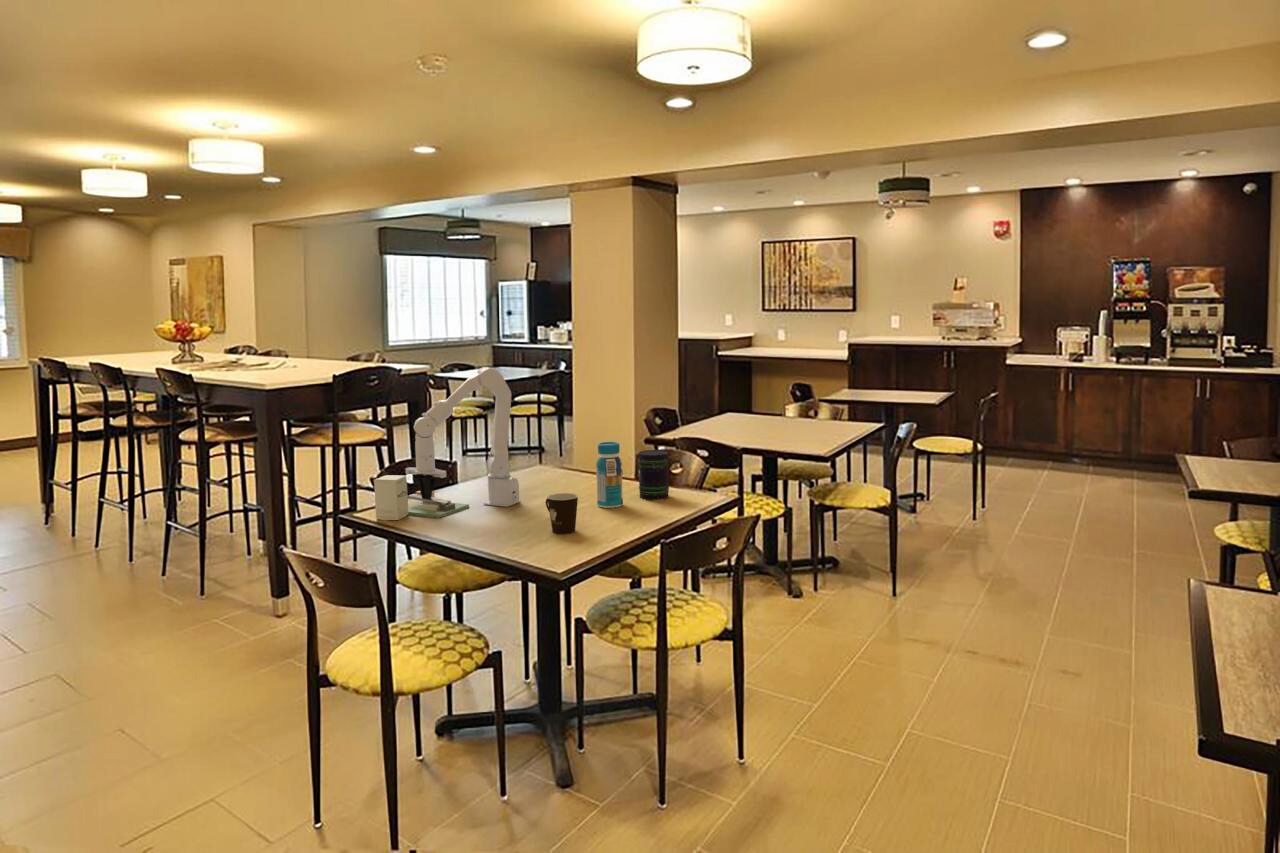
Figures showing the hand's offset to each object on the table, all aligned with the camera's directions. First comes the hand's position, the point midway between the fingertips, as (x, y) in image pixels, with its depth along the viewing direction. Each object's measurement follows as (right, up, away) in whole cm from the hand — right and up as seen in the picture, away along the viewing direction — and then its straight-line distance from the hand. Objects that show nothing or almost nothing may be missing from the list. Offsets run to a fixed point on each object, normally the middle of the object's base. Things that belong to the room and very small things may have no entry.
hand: (426, 498), depth 268 cm
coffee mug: (+45, -7, -26) cm, 53 cm away
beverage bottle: (+58, -3, +2) cm, 58 cm away
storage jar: (+72, -1, +13) cm, 73 cm away
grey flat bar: (+1, -1, 0) cm, 1 cm away
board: (+1, -4, 0) cm, 4 cm away
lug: (-2, -2, +7) cm, 7 cm away
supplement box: (-8, -5, -8) cm, 13 cm away
